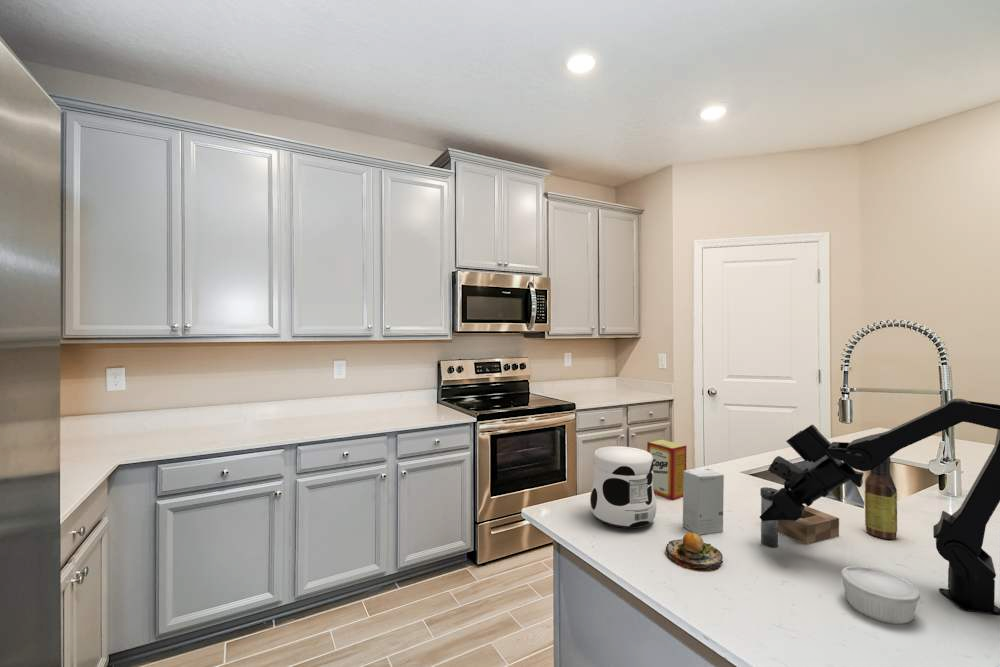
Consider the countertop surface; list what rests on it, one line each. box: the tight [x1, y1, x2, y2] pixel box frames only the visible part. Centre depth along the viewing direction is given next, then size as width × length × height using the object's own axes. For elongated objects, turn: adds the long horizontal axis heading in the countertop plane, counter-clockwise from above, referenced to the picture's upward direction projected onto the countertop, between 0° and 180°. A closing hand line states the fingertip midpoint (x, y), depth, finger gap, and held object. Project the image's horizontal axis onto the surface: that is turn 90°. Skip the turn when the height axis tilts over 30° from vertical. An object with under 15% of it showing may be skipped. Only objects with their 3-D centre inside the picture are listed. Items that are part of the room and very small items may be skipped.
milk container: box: [589, 445, 657, 529], centre depth 122 cm, size 17×17×18 cm
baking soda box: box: [646, 439, 687, 501], centre depth 142 cm, size 10×6×16 cm
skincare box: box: [682, 468, 725, 536], centre depth 117 cm, size 8×6×15 cm
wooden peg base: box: [778, 504, 840, 546], centre depth 116 cm, size 12×12×4 cm
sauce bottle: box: [864, 456, 898, 540], centre depth 114 cm, size 7×6×20 cm
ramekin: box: [840, 565, 920, 625], centre depth 84 cm, size 11×11×5 cm
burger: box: [665, 531, 724, 572], centre depth 103 cm, size 12×12×8 cm
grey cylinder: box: [759, 486, 779, 549], centre depth 109 cm, size 4×4×13 cm
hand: (766, 512), depth 109 cm, fingers open, 9 cm apart
